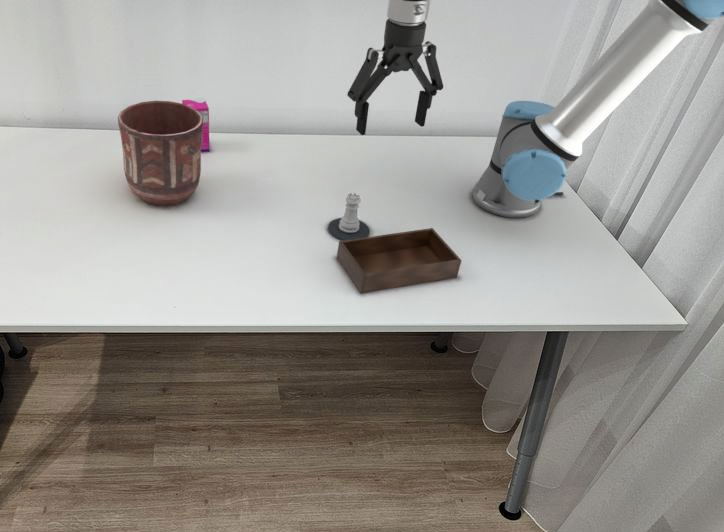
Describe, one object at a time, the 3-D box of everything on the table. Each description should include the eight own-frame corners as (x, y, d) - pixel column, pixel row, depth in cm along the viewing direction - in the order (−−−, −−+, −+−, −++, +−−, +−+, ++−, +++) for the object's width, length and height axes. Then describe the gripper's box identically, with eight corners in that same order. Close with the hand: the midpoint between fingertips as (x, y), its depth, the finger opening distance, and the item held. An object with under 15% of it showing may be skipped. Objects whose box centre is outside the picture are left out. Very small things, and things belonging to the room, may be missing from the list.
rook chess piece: (353, 236, 155) (358, 203, 149) (334, 229, 156) (339, 197, 151) (362, 227, 158) (368, 194, 152) (344, 220, 159) (349, 188, 154)
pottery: (186, 168, 174) (184, 95, 162) (214, 204, 163) (215, 128, 151) (114, 181, 168) (107, 106, 156) (138, 219, 156) (133, 141, 144)
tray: (428, 244, 155) (432, 227, 152) (456, 278, 146) (461, 260, 143) (336, 258, 149) (338, 241, 146) (360, 293, 141) (363, 275, 138)
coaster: (363, 218, 161) (363, 216, 161) (373, 241, 155) (374, 239, 154) (324, 219, 160) (324, 218, 160) (332, 242, 153) (332, 240, 153)
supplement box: (182, 142, 184) (181, 98, 176) (205, 141, 185) (205, 97, 178) (186, 153, 180) (185, 108, 172) (210, 151, 181) (210, 107, 174)
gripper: (354, 32, 130) (343, 143, 144) (475, 20, 137) (452, 127, 151) (337, 19, 135) (327, 128, 149) (453, 8, 142) (433, 113, 156)
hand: (390, 128), depth 150 cm, fingers open, 13 cm apart
